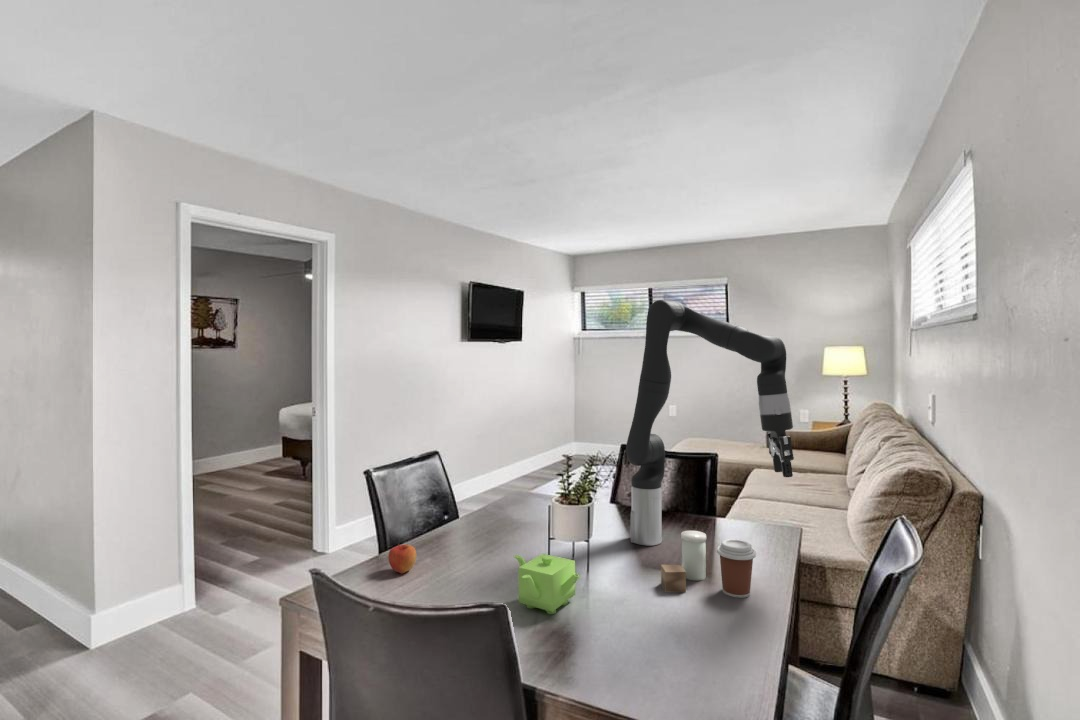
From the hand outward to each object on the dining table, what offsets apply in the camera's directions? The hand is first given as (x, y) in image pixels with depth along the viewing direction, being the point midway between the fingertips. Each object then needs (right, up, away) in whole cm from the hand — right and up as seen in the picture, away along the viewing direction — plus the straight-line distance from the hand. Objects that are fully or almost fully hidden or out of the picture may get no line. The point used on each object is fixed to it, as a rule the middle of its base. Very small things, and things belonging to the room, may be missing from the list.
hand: (783, 474), depth 147 cm
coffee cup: (-15, -28, -7) cm, 32 cm away
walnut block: (-29, -28, -5) cm, 41 cm away
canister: (-22, -27, +3) cm, 35 cm away
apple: (-100, -28, +7) cm, 104 cm away
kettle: (-62, -28, -14) cm, 69 cm away
